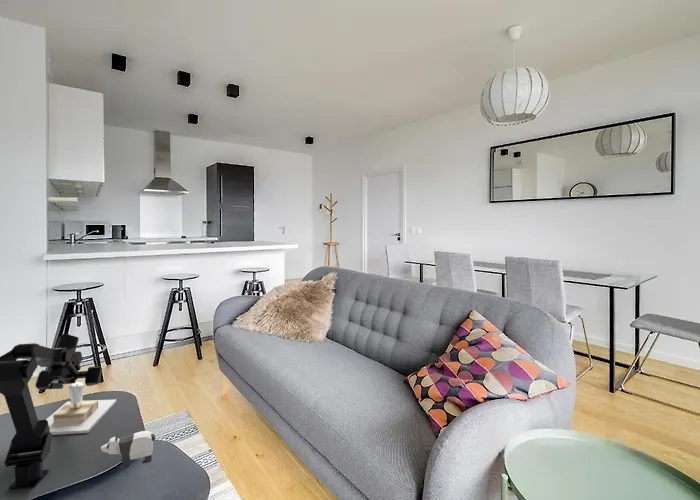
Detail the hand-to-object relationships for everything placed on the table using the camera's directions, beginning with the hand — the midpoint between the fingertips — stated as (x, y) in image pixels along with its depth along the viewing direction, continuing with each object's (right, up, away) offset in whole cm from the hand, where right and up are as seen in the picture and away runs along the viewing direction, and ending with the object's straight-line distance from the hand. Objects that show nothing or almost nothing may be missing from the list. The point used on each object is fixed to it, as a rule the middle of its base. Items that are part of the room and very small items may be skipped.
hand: (77, 386), depth 137 cm
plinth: (0, -12, 0) cm, 12 cm away
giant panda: (+34, -16, -23) cm, 44 cm away
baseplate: (0, -12, 0) cm, 12 cm away
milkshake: (0, -8, 0) cm, 8 cm away
